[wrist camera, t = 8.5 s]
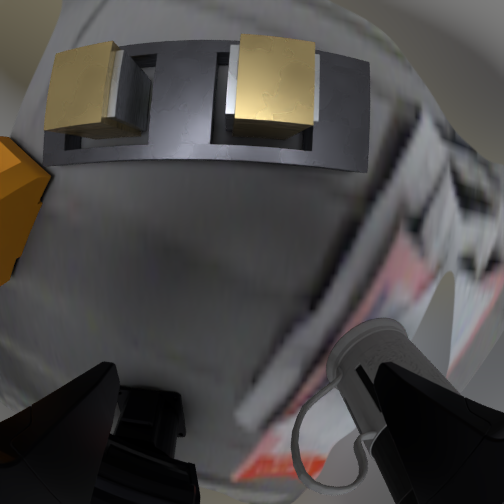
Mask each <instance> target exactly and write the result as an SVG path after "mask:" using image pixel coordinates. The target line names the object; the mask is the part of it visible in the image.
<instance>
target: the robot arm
mask: <svg viewBox="0 0 504 504" xmlns="http://www.w3.org/2000/svg"><path fill="white" fill-rule="evenodd" d="M374 388H375V391H376V395H377V398H378V401H379V404H380V407H381V411H382V414H383V417H384V420H385V422H386V425H387V427H388V429H389V432H390V434H391V436H392V439H393V441H394V443H395V446H396V448H397V451H398V453H399V455H400V458H401V460H402V463H403V465H404V468H405V470H406V473H407V475H408V478H409V480H410V483H411V485H412V488H413V491H414V493H415V496H416V498H417V501H418V504H504V413H503V412H501V411H498V410H495V409H492V408H489V407H486V406H484V405H482V404H479V403H477V402H475V401H472V400H470V399H468V398H464V397H463V396H461V395H459V394H457V393H455V392H453V391H451V390H449V389H447V388H445V387H442V386H440V385H438V384H436V383H434V382H432V381H430V380H428V379H426V378H424V377H422V376H420V375H418V374H416V373H414V372H411V371H409V370H407V369H405V368H403V367H401V366H399V365H397V364H395V363H393V362H391V361H389V362H382V363H381V364H380V365H379V367H378V370H377V373H376V376H375V378H374ZM119 391H120V392H119ZM174 397H176V398H174ZM117 402H118V405H119V408H120V412H121V414H120V417H119V420H118V422H117V425H116V428H115V431H114V434H113V435H112V434H110V431H111V427H112V423H113V419H114V414H115V408H116V403H117ZM185 435H186V430H185V423H184V416H183V408H182V400H181V395H180V394H178V393H173V392H161V391H152V390H143V389H135V388H127V387H120V381H119V377H118V373H117V369H116V365H115V364H114V363H112V362H101V363H100V364H98V365H96V366H95V367H93V368H92V369H90V370H88V371H87V372H85V373H83V374H82V375H80V376H79V377H77V378H75V379H74V380H72V381H70V382H69V383H67V384H65V385H64V386H62V387H61V388H59V389H57V390H56V391H54V392H52V393H51V394H49V395H47V396H46V397H44V398H42V399H41V400H39V401H37V402H36V403H34V404H32V406H29V407H27V408H26V409H24V410H22V411H21V412H19V413H17V414H15V415H14V416H12V417H10V418H8V419H6V420H4V421H2V422H0V504H200V491H199V485H198V480H197V474H196V468H195V464H192V463H186V462H183V461H180V460H177V459H174V455H175V448H176V440H177V437H185Z"/></svg>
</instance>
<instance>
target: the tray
mask: <svg viewBox="0 0 504 504" xmlns="http://www.w3.org/2000/svg"><path fill="white" fill-rule="evenodd" d="M231 45H240V41H229V40H184V41H165V42H153V43H143V44H134V45H127V46H120V47H119V48H120V49H121V50H125V52H126V53H127V54H128V55H129V56H130V57H131V58H132V59H133V60H134V62H135V63H136V64H137V65H138V66H139V67H140V68H141V67H153V66H156V68H155V76H154V84H153V93H152V102H151V113H150V125H149V139H148V145H127V146H111V147H98V148H86V149H81V137H80V136H75V135H69V134H63V133H57V132H51V131H45V135H44V150H43V166H63V165H73V164H86V163H100V162H118V161H146V160H207V161H236V162H255V163H270V164H283V165H294V166H305V167H315V168H324V169H332V170H341V171H348V172H362V173H367V168H368V152H369V129H370V67H369V62H366V61H362V60H359V59H355V58H351V57H346V56H342V55H338V54H333V53H328V52H323V51H318V50H315V54H319V55H320V82H319V119H318V122H317V123H315V124H313V126H311V127H309V128H307V129H305V130H303V147H302V150H294V149H283V148H271V147H257V146H241V145H216V144H212V141H213V125H214V111H215V97H216V85H217V74H218V65H229V58H230V46H231Z"/></svg>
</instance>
